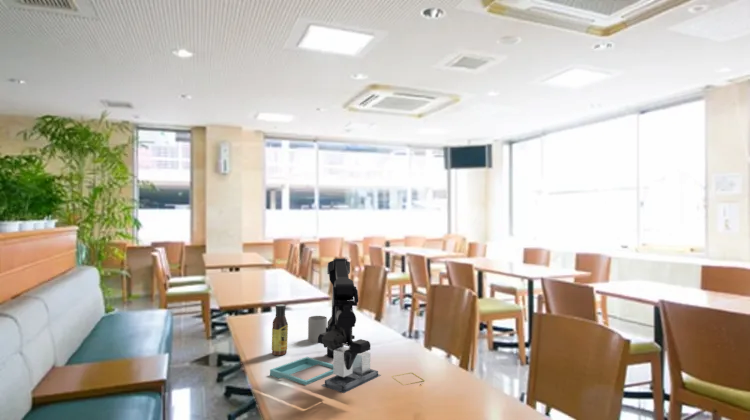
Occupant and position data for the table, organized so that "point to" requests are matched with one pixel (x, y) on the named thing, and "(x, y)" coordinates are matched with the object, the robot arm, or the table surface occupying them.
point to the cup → (316, 327)
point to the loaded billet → (361, 364)
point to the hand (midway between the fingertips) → (343, 367)
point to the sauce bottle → (279, 331)
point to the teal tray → (298, 366)
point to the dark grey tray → (349, 381)
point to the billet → (341, 362)
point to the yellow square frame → (410, 383)
